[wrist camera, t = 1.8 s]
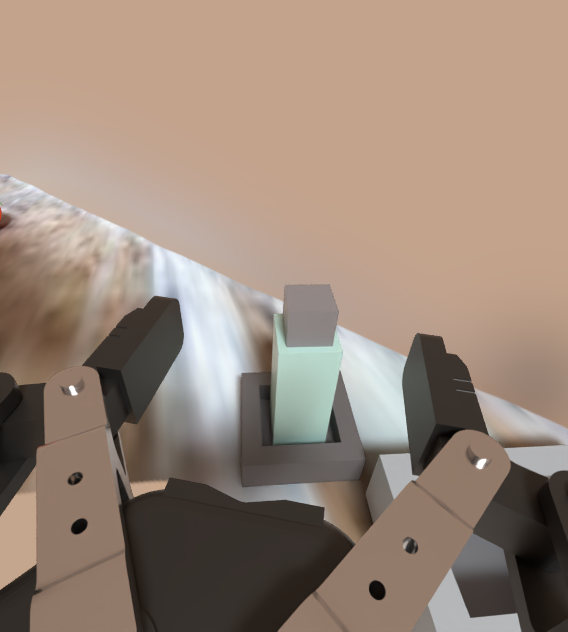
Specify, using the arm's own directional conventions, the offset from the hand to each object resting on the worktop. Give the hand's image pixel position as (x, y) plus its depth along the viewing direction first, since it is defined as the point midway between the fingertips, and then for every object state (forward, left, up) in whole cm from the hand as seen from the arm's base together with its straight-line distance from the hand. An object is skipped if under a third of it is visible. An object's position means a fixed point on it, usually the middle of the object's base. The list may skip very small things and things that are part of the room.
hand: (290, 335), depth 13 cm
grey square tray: (+3, +11, -21) cm, 24 cm away
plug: (+3, +11, -20) cm, 23 cm away
